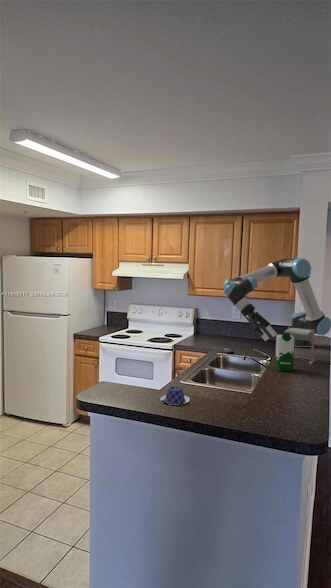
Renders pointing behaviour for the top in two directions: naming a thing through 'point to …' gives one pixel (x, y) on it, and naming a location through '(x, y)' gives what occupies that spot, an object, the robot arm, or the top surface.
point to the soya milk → (284, 352)
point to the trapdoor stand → (311, 349)
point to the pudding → (175, 396)
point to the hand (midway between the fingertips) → (271, 337)
